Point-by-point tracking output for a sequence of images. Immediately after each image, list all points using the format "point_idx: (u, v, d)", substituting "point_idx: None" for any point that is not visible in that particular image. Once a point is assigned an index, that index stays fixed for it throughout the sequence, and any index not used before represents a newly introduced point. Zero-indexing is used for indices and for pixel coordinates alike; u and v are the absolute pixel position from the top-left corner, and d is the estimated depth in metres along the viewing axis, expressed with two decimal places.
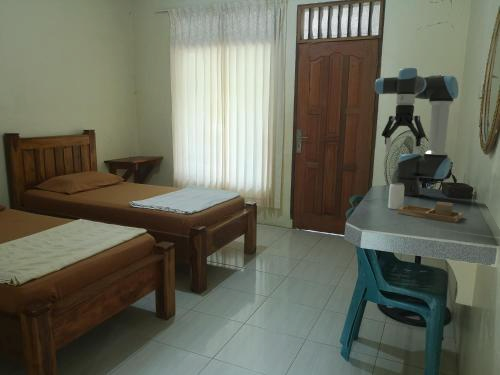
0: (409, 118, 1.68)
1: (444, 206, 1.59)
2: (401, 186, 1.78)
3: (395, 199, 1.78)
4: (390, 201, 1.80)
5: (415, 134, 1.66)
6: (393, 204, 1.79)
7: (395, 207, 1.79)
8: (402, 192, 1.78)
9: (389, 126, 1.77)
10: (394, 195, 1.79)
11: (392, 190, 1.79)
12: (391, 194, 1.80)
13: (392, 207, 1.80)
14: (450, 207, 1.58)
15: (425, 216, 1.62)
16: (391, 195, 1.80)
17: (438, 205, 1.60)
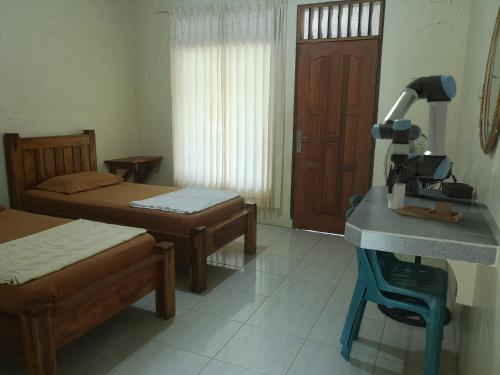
0: None
1: (444, 206, 1.59)
2: (401, 186, 1.78)
3: (395, 199, 1.78)
4: (390, 201, 1.80)
5: None
6: (393, 204, 1.79)
7: (395, 207, 1.79)
8: (402, 192, 1.78)
9: None
10: None
11: None
12: None
13: (392, 207, 1.80)
14: (450, 207, 1.58)
15: (425, 216, 1.62)
16: None
17: (438, 205, 1.60)
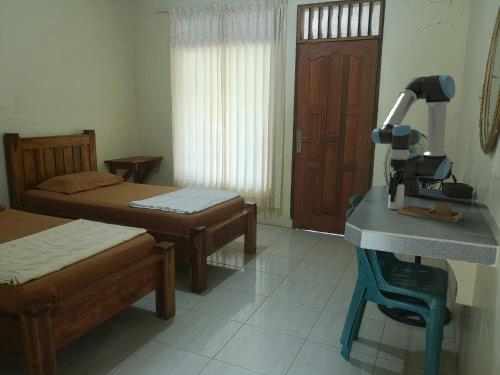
0: None
1: (444, 206, 1.59)
2: (401, 186, 1.78)
3: None
4: None
5: None
6: None
7: None
8: (402, 192, 1.78)
9: None
10: None
11: None
12: None
13: None
14: (450, 207, 1.58)
15: (425, 216, 1.62)
16: None
17: (438, 205, 1.60)
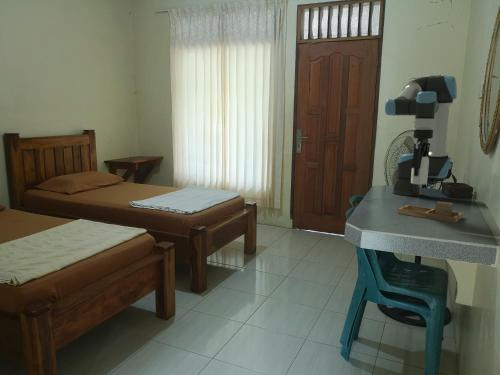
0: None
1: (444, 206, 1.59)
2: (425, 159, 1.63)
3: None
4: None
5: None
6: None
7: None
8: (427, 165, 1.64)
9: None
10: None
11: None
12: None
13: None
14: (450, 207, 1.58)
15: (425, 216, 1.62)
16: None
17: (438, 205, 1.60)
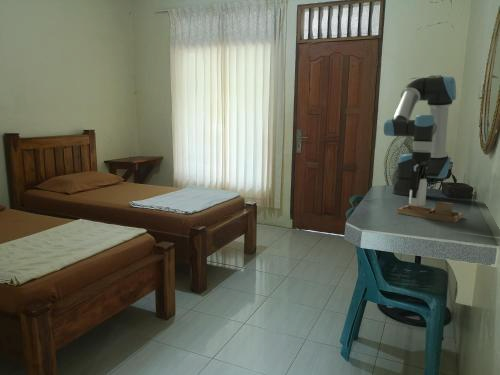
0: None
1: (444, 206, 1.59)
2: (424, 181, 1.65)
3: None
4: None
5: None
6: None
7: None
8: (425, 187, 1.65)
9: None
10: None
11: None
12: None
13: None
14: (450, 207, 1.58)
15: (425, 216, 1.62)
16: None
17: (438, 205, 1.60)
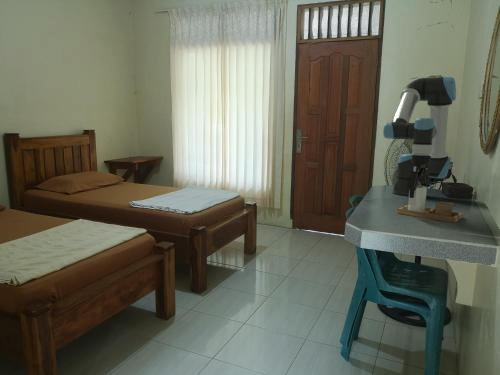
0: None
1: (444, 206, 1.59)
2: (422, 189, 1.65)
3: (416, 204, 1.66)
4: (410, 205, 1.68)
5: None
6: (414, 209, 1.67)
7: None
8: (423, 196, 1.66)
9: None
10: None
11: None
12: None
13: None
14: (450, 207, 1.58)
15: (425, 216, 1.62)
16: None
17: (438, 205, 1.60)
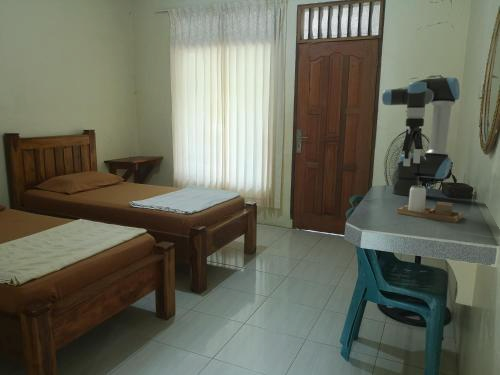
0: None
1: (444, 206, 1.59)
2: (423, 189, 1.66)
3: (416, 204, 1.66)
4: (410, 205, 1.68)
5: None
6: (414, 208, 1.67)
7: None
8: (424, 196, 1.66)
9: None
10: (414, 199, 1.66)
11: (413, 193, 1.67)
12: (411, 198, 1.68)
13: None
14: (450, 207, 1.58)
15: (425, 216, 1.62)
16: (412, 199, 1.67)
17: (438, 205, 1.60)
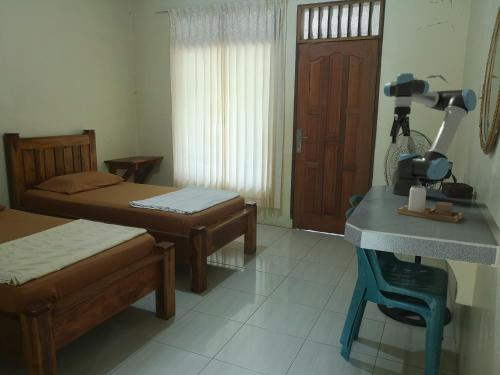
0: None
1: (444, 206, 1.59)
2: (423, 189, 1.65)
3: (416, 204, 1.66)
4: (410, 205, 1.68)
5: (392, 132, 1.87)
6: (414, 209, 1.67)
7: None
8: (424, 196, 1.66)
9: None
10: (414, 199, 1.66)
11: (413, 194, 1.67)
12: (411, 198, 1.68)
13: None
14: (450, 207, 1.58)
15: (425, 216, 1.62)
16: (412, 199, 1.67)
17: (438, 205, 1.60)
